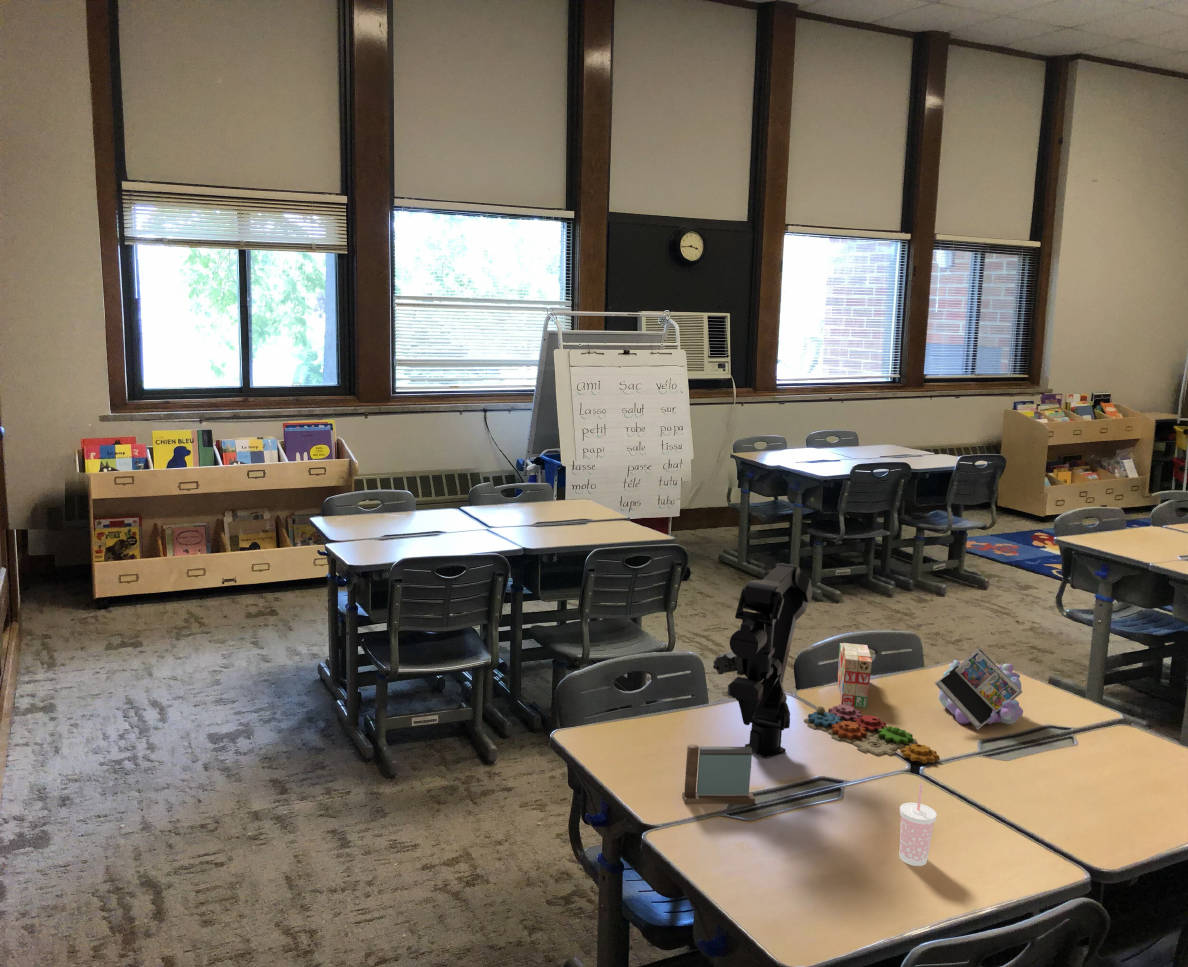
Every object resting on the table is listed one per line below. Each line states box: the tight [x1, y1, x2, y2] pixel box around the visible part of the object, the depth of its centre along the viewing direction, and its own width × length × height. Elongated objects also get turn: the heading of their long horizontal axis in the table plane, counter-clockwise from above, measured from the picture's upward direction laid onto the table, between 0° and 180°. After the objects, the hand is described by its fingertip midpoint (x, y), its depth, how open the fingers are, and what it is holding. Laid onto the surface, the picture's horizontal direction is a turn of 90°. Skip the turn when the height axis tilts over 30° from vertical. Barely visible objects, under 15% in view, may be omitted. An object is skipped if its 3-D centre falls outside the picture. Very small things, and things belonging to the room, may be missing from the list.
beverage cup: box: [899, 783, 938, 867], centre depth 169 cm, size 6×6×14 cm
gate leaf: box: [696, 746, 753, 795], centre depth 187 cm, size 1×10×9 cm, turn 95°
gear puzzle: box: [803, 703, 940, 764], centre depth 220 cm, size 31×16×4 cm, turn 36°
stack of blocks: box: [837, 642, 873, 709], centre depth 248 cm, size 21×6×12 cm, turn 169°
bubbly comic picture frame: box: [934, 647, 1024, 730], centre depth 234 cm, size 20×22×18 cm
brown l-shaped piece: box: [681, 743, 756, 805], centre depth 187 cm, size 3×14×11 cm, turn 95°
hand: (752, 716), depth 199 cm, fingers open, 8 cm apart
